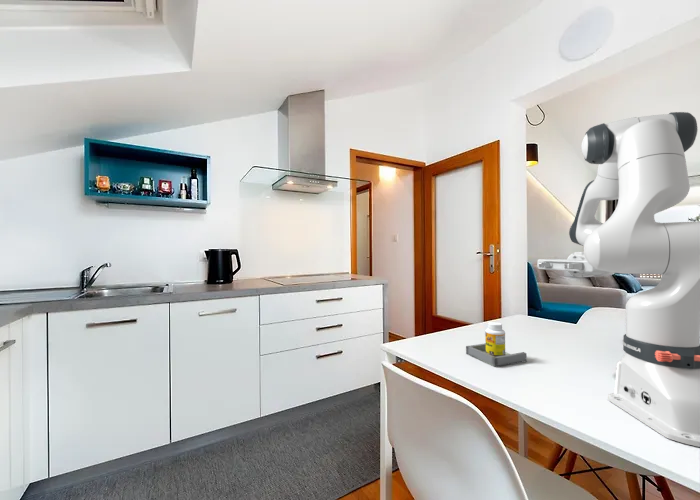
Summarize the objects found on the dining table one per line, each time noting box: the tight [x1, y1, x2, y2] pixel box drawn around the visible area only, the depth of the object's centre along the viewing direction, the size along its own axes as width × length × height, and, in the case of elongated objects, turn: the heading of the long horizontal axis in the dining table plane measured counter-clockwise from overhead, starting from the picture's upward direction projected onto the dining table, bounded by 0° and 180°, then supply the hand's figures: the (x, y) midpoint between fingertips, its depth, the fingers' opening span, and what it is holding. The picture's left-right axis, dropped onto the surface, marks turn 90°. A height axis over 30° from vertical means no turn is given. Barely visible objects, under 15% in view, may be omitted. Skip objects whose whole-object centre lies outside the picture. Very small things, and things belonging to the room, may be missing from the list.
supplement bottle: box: [484, 321, 506, 357], centre depth 96 cm, size 6×6×10 cm
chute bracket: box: [465, 342, 527, 368], centre depth 96 cm, size 12×12×2 cm
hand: (552, 265), depth 102 cm, fingers open, 8 cm apart
